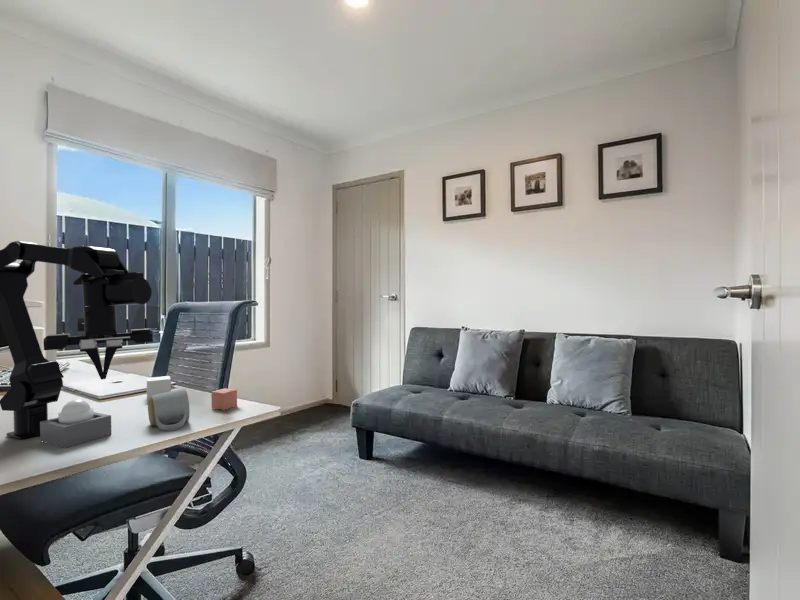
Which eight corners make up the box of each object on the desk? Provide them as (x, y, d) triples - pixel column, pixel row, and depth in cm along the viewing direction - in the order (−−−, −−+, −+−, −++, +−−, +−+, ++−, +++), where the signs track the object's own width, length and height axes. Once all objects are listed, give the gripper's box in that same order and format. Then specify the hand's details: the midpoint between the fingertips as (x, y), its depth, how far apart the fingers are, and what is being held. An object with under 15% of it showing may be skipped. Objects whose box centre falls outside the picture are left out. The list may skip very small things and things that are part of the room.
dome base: (40, 441, 90) (40, 421, 90) (87, 429, 98) (86, 410, 98) (64, 448, 86) (64, 427, 86) (111, 434, 94) (111, 415, 94)
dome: (52, 425, 91) (51, 401, 90) (83, 417, 96) (83, 395, 96) (68, 428, 88) (68, 404, 88) (99, 420, 93) (99, 398, 93)
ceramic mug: (146, 422, 103) (146, 390, 102) (184, 416, 108) (184, 386, 107) (153, 435, 94) (152, 400, 94) (193, 427, 99) (193, 394, 99)
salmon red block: (211, 408, 115) (211, 391, 115) (225, 404, 119) (224, 387, 119) (223, 410, 113) (223, 392, 113) (237, 406, 117) (236, 389, 117)
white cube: (146, 398, 128) (146, 377, 128) (169, 395, 131) (169, 375, 131) (147, 402, 122) (147, 381, 122) (171, 399, 126) (170, 378, 126)
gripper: (148, 304, 104) (150, 368, 104) (48, 308, 93) (51, 379, 93) (151, 304, 94) (154, 375, 94) (41, 308, 84) (45, 387, 84)
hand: (103, 379), depth 92 cm, fingers closed
